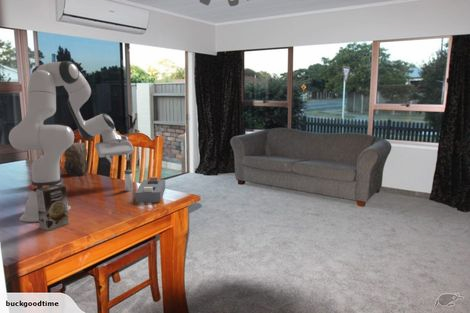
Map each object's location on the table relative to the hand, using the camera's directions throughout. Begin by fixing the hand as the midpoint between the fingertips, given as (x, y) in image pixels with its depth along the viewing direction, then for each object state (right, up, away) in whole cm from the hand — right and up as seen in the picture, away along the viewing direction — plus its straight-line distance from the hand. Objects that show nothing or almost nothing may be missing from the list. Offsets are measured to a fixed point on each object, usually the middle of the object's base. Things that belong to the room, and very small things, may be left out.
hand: (119, 160), depth 200 cm
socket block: (+21, -18, -13) cm, 31 cm away
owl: (-37, -9, +31) cm, 49 cm away
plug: (+7, -16, -5) cm, 18 cm away
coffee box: (-9, -26, -55) cm, 62 cm away
